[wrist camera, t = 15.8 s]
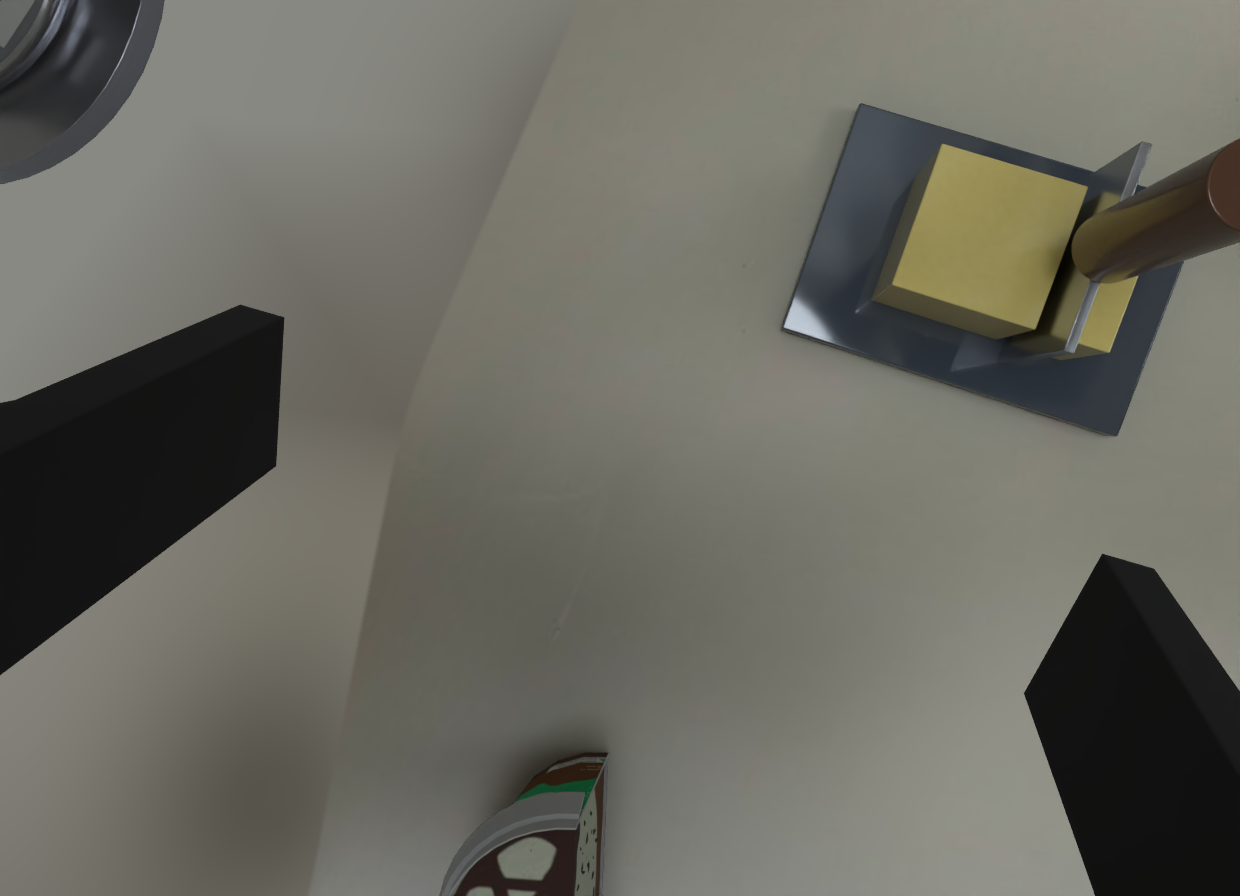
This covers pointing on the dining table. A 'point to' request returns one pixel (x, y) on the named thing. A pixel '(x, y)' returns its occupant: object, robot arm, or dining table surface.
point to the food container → (540, 838)
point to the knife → (1132, 238)
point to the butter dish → (932, 343)
